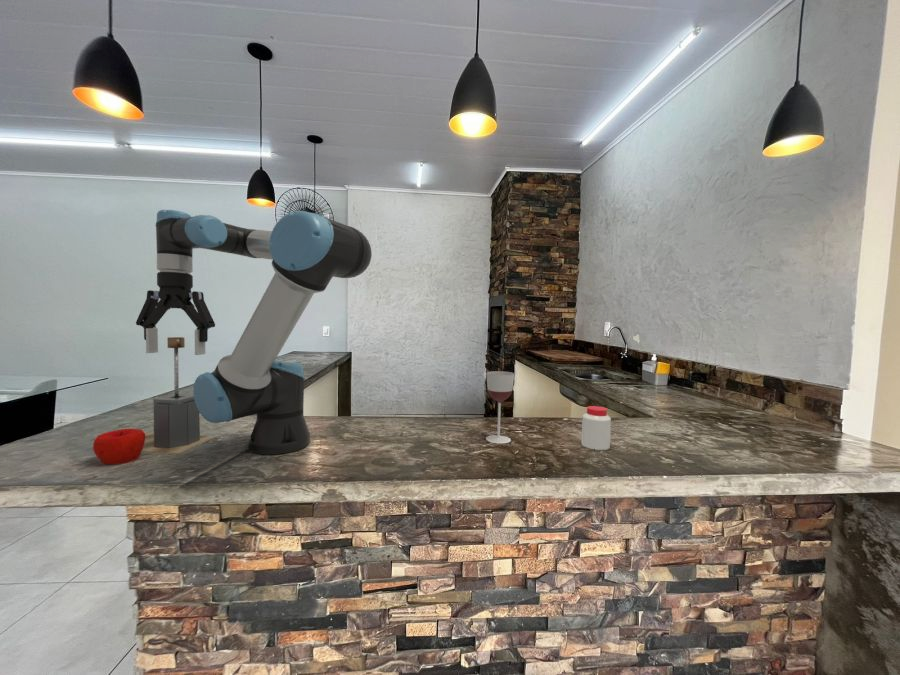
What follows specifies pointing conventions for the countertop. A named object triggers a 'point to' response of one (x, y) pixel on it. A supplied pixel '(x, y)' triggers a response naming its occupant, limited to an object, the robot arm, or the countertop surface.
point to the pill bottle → (596, 428)
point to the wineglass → (499, 396)
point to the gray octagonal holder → (175, 421)
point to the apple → (119, 446)
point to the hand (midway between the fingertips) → (176, 353)
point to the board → (150, 448)
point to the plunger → (176, 359)
